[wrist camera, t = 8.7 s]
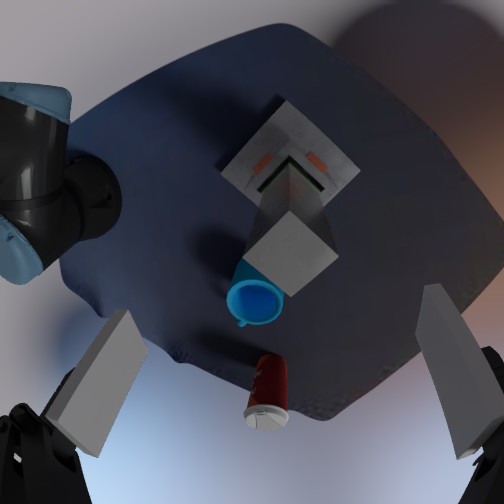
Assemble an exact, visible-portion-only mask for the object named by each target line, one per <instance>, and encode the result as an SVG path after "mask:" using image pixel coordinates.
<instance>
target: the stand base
mask: <svg viewBox="0 0 504 504" xmlns="http://www.w3.org/2000/svg"><path fill="white" fill-rule="evenodd" d="M289 158H291V159H292V160H293V161H294V162H295V163H296V164H297V165H298V166H299V167H301V168H302V169H303V170H304V171H305V172H306V173H307V174H308V175H309V176H310V177H311V178H312V179H313V180H314V181H315V183H316V186H317V187H318V188H319V189H320V192H321V193H320V194H319V195H320V198H321V201H322V204H323V207H324V206H325V205H326V204H327V203H328V202H329V201H330V200H331V199H332V198H333V197H334V196H335V195H336V194H337V193H338V192H339V191H340V190H341V189H342V188H343V187H344V186H345V185H347V184H348V183H349V182H350V181H351V180H352V179H353V178H354V177H355V176H356V175H357V174H358V173H359V172H360V170H359V169H358V168H357V167H356V165H355V164H354V163H353V162H352V161H351V160H350V159H349V158H348V157H347V156H346V155H345V154H344V153H343V152H342V151H341V150H340V149H339V148H338V147H337V146H336V145H335V144H334V143H333V142H332V141H331V140H330V139H329V138H328V137H327V136H326V135H325V134H324V133H322V132H321V131H320V130H319V129H318V128H317V127H316V126H315V125H314V124H313V123H312V122H311V121H310V120H308V119H307V118H306V117H305V116H304V115H303V114H302V113H301V112H300V111H298V110H297V109H296V108H295V107H294V106H293V105H291V104H290V103H289V102H288V101H287V100H286V101H285V102H284V103H283V104H282V106H281V107H280V108H279V109H278V110H277V111H276V112H275V113H274V114H273V115H272V116H271V117H270V118H269V119H268V120H267V122H266V123H265V124H264V125H263V126H262V127H261V128H260V129H259V130H258V131H257V132H256V134H255V135H254V136H253V137H252V138H251V139H250V140H249V141H248V143H247V144H246V145H245V146H244V147H243V148H242V149H241V150H240V152H239V153H238V154H237V155H236V156H235V157H234V159H233V160H232V161H231V162H230V163H229V164H228V165H227V167H226V168H225V169H224V170H223V171H222V173H221V175H222V176H223V177H224V178H226V179H227V180H228V181H229V182H230V183H232V184H233V185H234V186H235V187H236V188H237V189H239V190H240V191H241V192H242V193H243V194H245V195H246V196H247V197H248V198H249V199H250V200H252V201H253V202H254V203H255V204H256V205H257V206H259V204H260V201H261V198H262V195H261V191H262V190H263V189H264V188H265V185H266V182H267V181H268V180H269V179H270V178H271V177H272V176H273V174H274V173H275V172H276V171H277V170H278V169H279V168H280V167H281V166H282V165H283V164H284V163H285V162H286V161H287V160H288V159H289Z"/></svg>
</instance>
